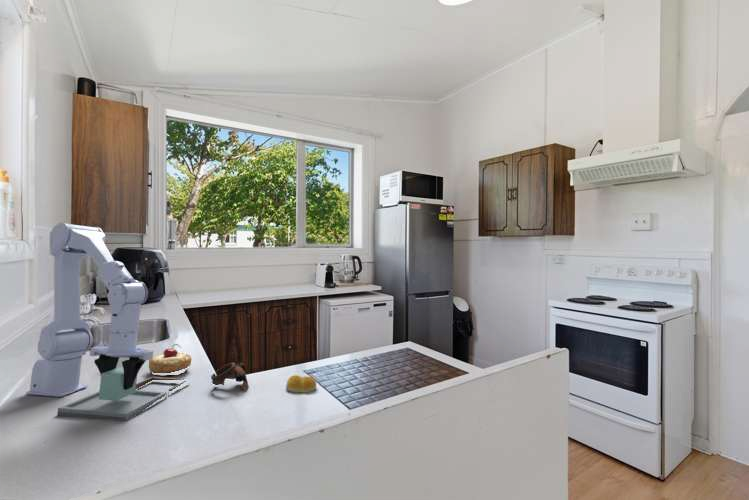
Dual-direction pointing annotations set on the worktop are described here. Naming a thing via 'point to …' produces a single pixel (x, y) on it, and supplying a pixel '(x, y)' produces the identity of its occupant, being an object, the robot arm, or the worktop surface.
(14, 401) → the worktop surface
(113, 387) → the teal block
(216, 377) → the brown piece
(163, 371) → the pastry
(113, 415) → the grey tray
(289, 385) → the bread roll
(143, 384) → the dark bent strip
